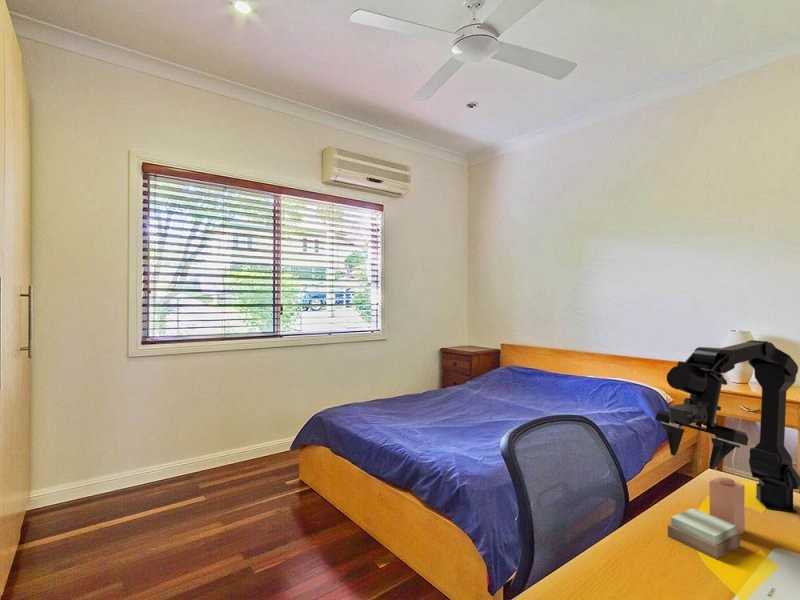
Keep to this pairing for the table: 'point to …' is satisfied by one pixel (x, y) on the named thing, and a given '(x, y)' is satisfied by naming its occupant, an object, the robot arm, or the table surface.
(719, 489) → the top brick
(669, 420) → the robot arm
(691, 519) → the base brick
